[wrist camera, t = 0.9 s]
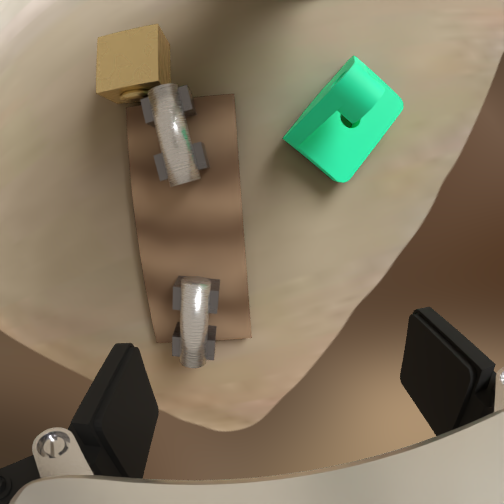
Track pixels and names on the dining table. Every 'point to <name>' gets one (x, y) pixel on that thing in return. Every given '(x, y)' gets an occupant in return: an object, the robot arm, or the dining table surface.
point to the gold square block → (132, 63)
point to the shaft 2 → (195, 319)
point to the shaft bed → (192, 219)
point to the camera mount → (354, 110)
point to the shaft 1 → (174, 133)
